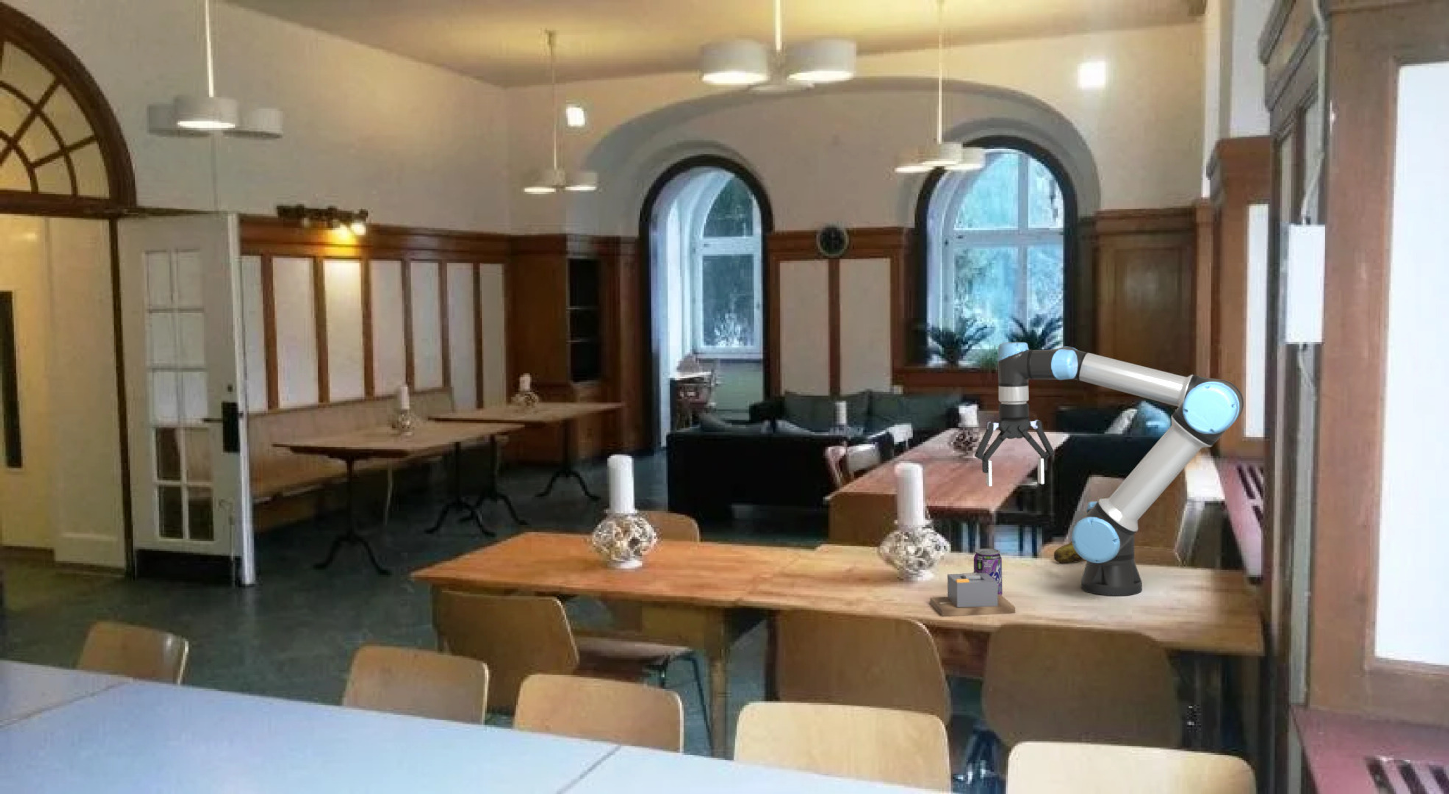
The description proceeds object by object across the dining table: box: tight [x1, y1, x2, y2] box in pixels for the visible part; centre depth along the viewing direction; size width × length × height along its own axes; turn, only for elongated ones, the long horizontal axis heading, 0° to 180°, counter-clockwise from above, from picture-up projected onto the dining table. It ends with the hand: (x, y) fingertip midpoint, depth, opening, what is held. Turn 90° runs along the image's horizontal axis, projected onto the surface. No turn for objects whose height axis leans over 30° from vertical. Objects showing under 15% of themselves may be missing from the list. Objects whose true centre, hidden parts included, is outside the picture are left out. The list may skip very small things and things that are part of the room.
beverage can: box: [973, 548, 1003, 596], centre depth 308 cm, size 7×7×12 cm
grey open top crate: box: [946, 573, 998, 607], centre depth 298 cm, size 10×10×7 cm
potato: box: [1053, 540, 1084, 564], centre depth 344 cm, size 8×13×8 cm, turn 79°
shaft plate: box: [929, 594, 1016, 617], centre depth 298 cm, size 18×13×2 cm
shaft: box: [961, 572, 980, 581], centre depth 298 cm, size 4×4×7 cm
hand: (1015, 484), depth 309 cm, fingers open, 13 cm apart
